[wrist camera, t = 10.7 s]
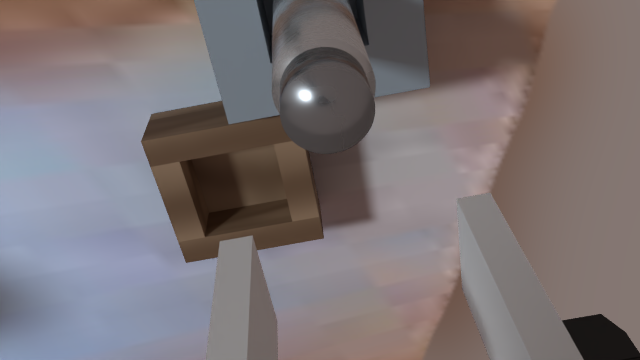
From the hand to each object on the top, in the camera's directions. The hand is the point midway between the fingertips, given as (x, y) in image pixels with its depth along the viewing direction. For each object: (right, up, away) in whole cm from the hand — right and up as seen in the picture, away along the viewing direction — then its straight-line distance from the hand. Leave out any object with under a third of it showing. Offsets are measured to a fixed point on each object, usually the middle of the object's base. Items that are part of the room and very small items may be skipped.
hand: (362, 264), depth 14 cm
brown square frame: (-7, +3, +30) cm, 31 cm away
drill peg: (-2, +14, +23) cm, 27 cm away
